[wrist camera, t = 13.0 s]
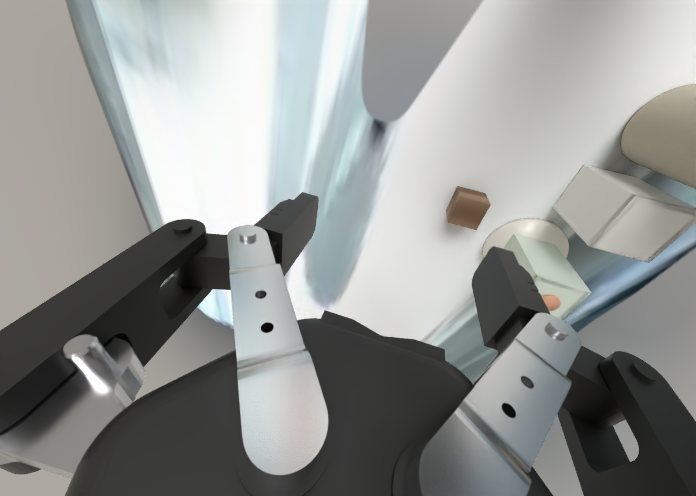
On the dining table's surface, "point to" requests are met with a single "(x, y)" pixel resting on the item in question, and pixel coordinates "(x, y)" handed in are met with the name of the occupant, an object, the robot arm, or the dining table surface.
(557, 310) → the pale grey boxy piece
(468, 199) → the block
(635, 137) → the travel mug
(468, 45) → the dining table surface
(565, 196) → the tall white lidded box
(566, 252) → the dish
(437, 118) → the dining table surface
